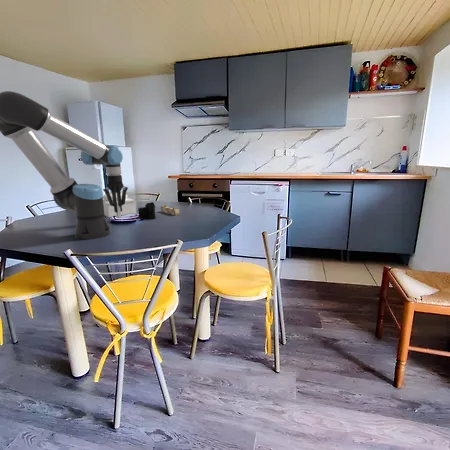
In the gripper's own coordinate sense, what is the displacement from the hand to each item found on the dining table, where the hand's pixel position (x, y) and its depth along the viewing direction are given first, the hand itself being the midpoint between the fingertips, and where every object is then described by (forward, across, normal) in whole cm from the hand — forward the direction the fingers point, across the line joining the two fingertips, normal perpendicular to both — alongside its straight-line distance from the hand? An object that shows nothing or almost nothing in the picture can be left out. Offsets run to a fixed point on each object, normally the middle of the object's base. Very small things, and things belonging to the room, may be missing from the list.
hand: (119, 217), depth 157 cm
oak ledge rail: (+3, -32, 0) cm, 32 cm away
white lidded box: (+3, -8, -24) cm, 26 cm away
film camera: (+3, -16, +1) cm, 17 cm away
